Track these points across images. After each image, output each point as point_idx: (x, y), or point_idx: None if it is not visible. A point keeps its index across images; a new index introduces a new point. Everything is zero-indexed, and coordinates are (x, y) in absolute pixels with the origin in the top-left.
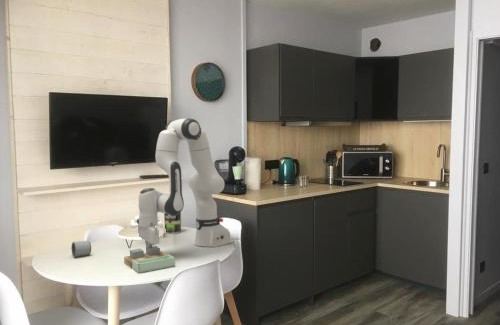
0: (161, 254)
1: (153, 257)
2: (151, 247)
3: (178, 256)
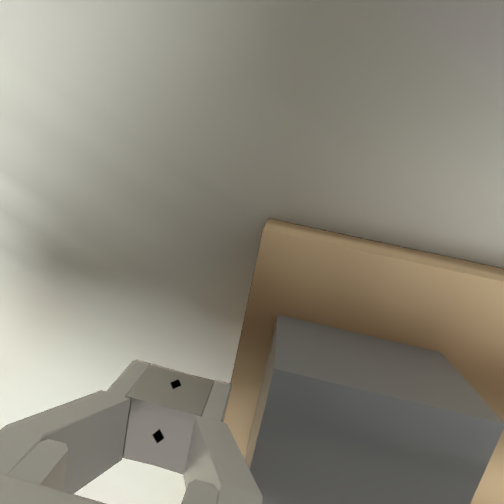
0: (471, 344)
1: (498, 499)
2: (305, 484)
3: (465, 23)
